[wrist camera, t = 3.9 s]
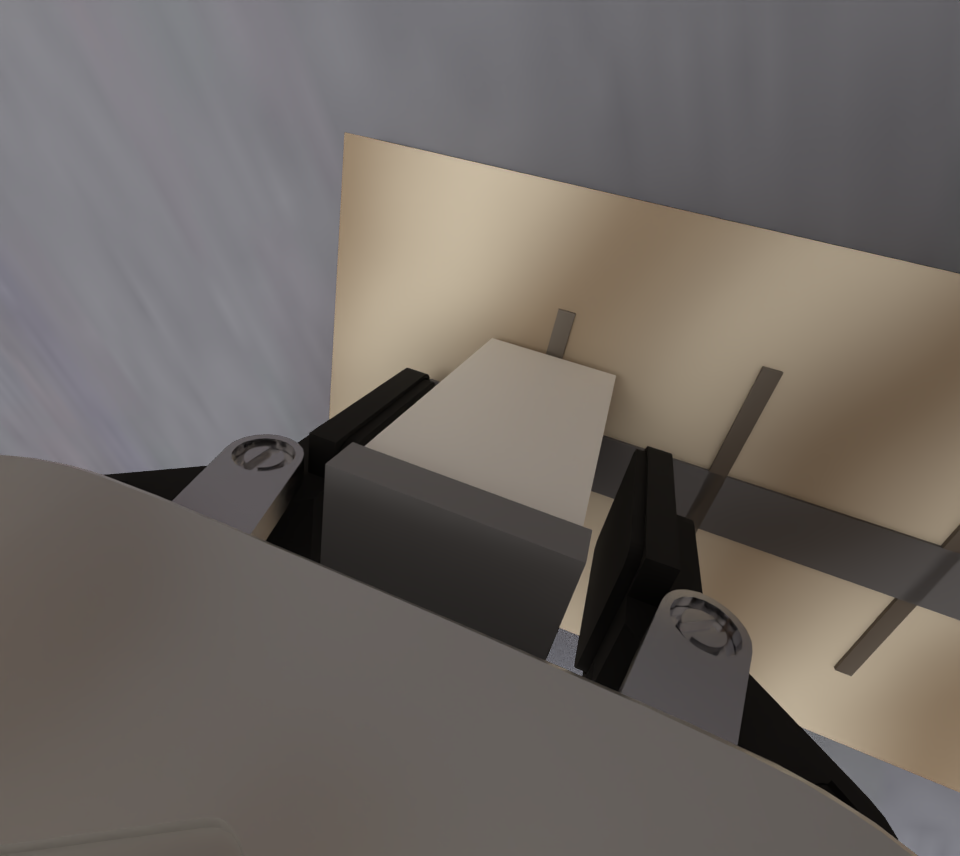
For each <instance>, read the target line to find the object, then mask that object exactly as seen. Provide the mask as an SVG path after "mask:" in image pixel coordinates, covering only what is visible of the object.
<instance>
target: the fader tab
mask: <svg viewBox="0 0 960 856" xmlns="http://www.w3.org/2000/svg"><path fill="white" fill-rule="evenodd" d="M615 379H616V375H613V374H610V373H606V372H603V371H600V370H597V369H593V368H590V367H587V366H583V365H580V364H577V363H573V362H570V361H567V360H563V359H560V358H557V357H553V356H550V355H547V354H544V353H540V352H537V351H534V350H530V349H527V348H524V347H520V346H517V345H514V344H510V343H507V342H504V341H501V340H497V339H494V338H492V339H490V340H489V341H488V342H487V343H486V344H485V345H483V346H482V347H481V348H480V349H479V350H477V351H476V352H475V353H474V354H473V355H472V356H470V357H469V358H468V359H467V360H466V361H464V362H463V363H462V364H461V365H460V366H459V367H457V368H456V369H455V370H454V371H453V372H451V373H450V374H449V375H448V376H447V377H446V378H444V379H443V380H442V381H441V382H440V383H438V384H437V385H436V386H435V387H434V388H433V389H431V390H430V391H429V392H428V393H427V394H426V395H424V396H423V397H422V398H421V399H420V400H418V401H417V402H416V403H415V404H414V405H413V406H411V407H410V408H409V409H408V410H407V411H405V412H404V413H403V414H402V415H401V416H400V417H398V418H397V419H396V420H395V421H394V422H392V423H391V424H390V425H389V426H388V427H387V428H385V429H384V430H383V431H382V432H381V433H379V434H378V435H377V436H376V437H375V438H374V439H372V440H371V441H370V442H369V443H368V444H367V445H365V446H362V445H359V444H357V443H354V442H352V443H351V444H350V445H348V446H347V447H346V448H345V449H343V450H342V451H341V452H340V453H338V454H337V455H336V456H335V457H333V458H332V459H331V460H330V461H328V462H327V463H326V464H325V483H324V502H323V521H322V540H321V559H320V564H322V565H324V566H326V567H329V568H331V569H333V570H336V571H338V572H341V573H343V574H345V575H348V576H350V577H352V578H355V579H357V580H359V581H362V582H364V583H366V584H369V585H371V586H373V587H376V588H378V589H380V590H383V591H385V592H388V593H390V594H392V595H395V596H397V597H399V598H402V599H404V600H406V601H409V602H411V603H413V604H416V605H418V606H420V607H423V608H425V609H427V610H430V611H432V612H434V613H437V614H439V615H441V616H444V617H446V618H448V619H451V620H453V621H455V622H458V623H460V624H462V625H465V626H467V627H469V628H472V629H474V630H476V631H479V632H481V633H483V634H486V635H488V636H490V637H493V638H495V639H497V640H499V641H502V642H504V643H506V644H509V645H511V646H513V647H516V648H518V649H520V650H522V651H525V652H527V653H529V654H532V655H534V656H536V657H539V658H541V659H543V660H546V658H547V656H548V653H549V651H550V649H551V646H552V644H553V641H554V639H555V637H556V634H557V632H558V629H559V627H560V625H561V622H562V620H563V617H564V615H565V613H566V610H567V608H568V605H569V603H570V601H571V598H572V596H573V593H574V591H575V589H576V586H577V584H578V581H579V579H580V577H581V574H582V572H583V569H584V567H585V565H586V561H587V556H588V551H589V545H590V540H591V535H592V530H591V529H588V528H585V527H583V525H584V520H585V516H586V511H587V507H588V502H589V497H590V493H591V488H592V484H593V479H594V475H595V470H596V465H597V461H598V456H599V452H600V447H601V443H602V438H603V434H604V429H605V424H606V420H607V415H608V411H609V406H610V402H611V397H612V392H613V388H614V383H615Z"/></svg>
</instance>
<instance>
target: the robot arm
mask: <svg viewBox="0 0 960 856" xmlns="http://www.w3.org/2000/svg"><path fill="white" fill-rule="evenodd" d="M434 387H435V383H434V382H432V381H430V377H429V375H428V374H426V373H423V372H420V371H417V370H414V369H411V368H405V369H404V370H402V371H401V372H399V373H398V374H396V375H395V376H393V377H392V378H390V379H389V380H387V381H386V382H384V383H383V384H381V385H380V386H378V387H377V388H375V389H374V390H373V391H371V392H370V393H368V394H367V395H365V396H364V397H362V398H361V399H359V400H358V401H356V402H355V403H353V404H352V405H350V406H349V407H347V408H346V409H344V410H343V411H341V412H340V413H338V414H337V415H335V416H334V417H332V418H331V419H329V420H328V421H327V422H325V423H324V424H322V425H321V426H319V427H318V428H316V429H315V430H313V431H312V432H310V433H309V435H308V436H307V437H306V438H304V439H303V440H301V441H300V442H298V443H297V442H295V441H293V440H292V439H290V438H286V437H283V436H279V435H270V434H263V435H253V436H248V437H244V438H241V439H239V440H236V441H234V442H232V443H231V444H230V445H228V446H227V447H226V448H225V449H224V450H223V451H222V452H221V453H220V454H219V455H218V456H217V457H216V458H215V459H214V460H213V461H212V462H211V463H210V464H209V465H208V466H200V467H189V468H177V469H166V470H154V471H143V472H132V473H120V474H110V475H102V474H99V473H95V472H92V471H88V470H85V469H81V468H78V467H75V466H71V465H67V464H62V463H57V462H52V461H47V460H42V459H37V458H28V457H18V456H7V455H0V856H918V855H917V854H915V853H914V852H913V851H911V850H910V849H909V848H907V847H906V846H905V845H903V844H902V843H901V842H900V841H898V838H897V837H896V835H895V833H894V832H893V830H892V828H891V827H890V825H889V823H888V822H887V820H886V819H885V817H884V816H883V815H882V814H881V812H880V811H879V810H878V809H877V807H876V806H875V805H874V804H873V803H872V801H871V800H870V799H869V798H868V797H867V796H866V795H865V794H864V793H863V792H862V791H861V790H860V788H859V787H858V786H857V785H856V784H855V783H854V782H853V781H852V780H851V779H850V778H849V777H848V776H847V775H846V774H845V773H844V772H843V771H842V770H841V769H840V768H839V767H838V766H837V764H836V763H835V762H834V761H833V760H832V759H831V758H830V757H829V756H828V755H827V754H826V753H825V752H824V751H823V750H822V749H821V748H820V747H819V746H818V745H817V744H816V743H815V741H814V740H813V739H812V738H811V737H810V736H809V735H808V734H807V733H806V732H805V731H804V730H803V729H802V728H801V727H800V726H799V725H798V724H797V723H796V722H795V721H794V720H793V718H792V717H791V716H790V715H789V714H788V713H787V712H786V711H785V710H784V709H783V708H782V707H781V706H780V705H779V704H778V703H777V702H776V701H775V700H774V699H773V698H772V697H771V695H770V694H769V693H768V692H767V691H766V690H765V689H764V688H763V687H762V686H761V685H760V684H759V683H758V682H757V681H756V680H755V679H754V678H753V677H752V676H751V675H750V674H749V671H750V665H751V659H752V653H753V650H752V641H751V638H750V636H749V634H748V632H747V629H746V628H745V627H744V625H743V624H742V623H741V621H740V620H739V619H738V618H737V617H736V616H735V615H734V614H733V613H732V612H731V611H730V610H729V609H728V608H727V607H725V606H724V605H722V604H721V603H719V602H718V601H716V600H715V599H713V598H711V597H709V596H706V595H704V594H703V591H702V583H701V575H700V567H699V559H698V550H697V542H696V534H695V526H694V522H693V520H691V519H689V518H686V517H683V516H680V515H678V514H677V512H676V498H675V484H674V470H673V456H672V454H671V453H668V452H665V451H662V450H659V449H656V448H653V447H650V446H647V447H646V448H645V450H644V451H642V450H639V449H636V450H635V451H634V453H633V456H632V458H631V460H630V463H629V465H628V467H627V470H626V472H625V475H624V477H623V479H622V482H621V484H620V487H619V489H618V491H617V494H616V496H615V499H614V501H613V503H612V506H611V508H610V510H609V513H608V515H607V518H606V520H605V522H604V525H603V527H602V530H601V532H600V534H599V537H598V539H597V542H596V545H595V549H594V554H593V559H592V565H591V571H590V577H589V583H588V588H587V594H586V600H585V606H584V611H583V617H582V623H581V629H580V635H579V640H578V646H577V652H576V658H575V668H577V669H580V670H582V671H583V676H580V675H578V674H576V673H573V672H571V671H569V670H566V669H564V668H562V667H559V666H557V665H555V664H552V663H550V662H548V661H546V660H543V659H541V658H539V657H536V656H534V655H532V654H529V653H527V652H525V651H522V650H520V649H518V648H516V647H513V646H511V645H509V644H506V643H504V642H502V641H499V640H497V639H495V638H493V637H490V636H488V635H486V634H483V633H481V632H479V631H476V630H474V629H472V628H469V627H467V626H465V625H462V624H460V623H458V622H455V621H453V620H451V619H448V618H446V617H444V616H441V615H439V614H437V613H434V612H432V611H430V610H427V609H425V608H423V607H420V606H418V605H416V604H413V603H411V602H409V601H406V600H404V599H402V598H399V597H397V596H395V595H392V594H390V593H388V592H385V591H383V590H380V589H378V588H376V587H373V586H371V585H369V584H366V583H364V582H362V581H359V580H357V579H355V578H352V577H350V576H348V575H345V574H343V573H341V572H338V571H336V570H333V569H331V568H329V567H326V566H324V565H322V564H320V559H321V540H322V521H323V502H324V483H325V464H326V463H327V462H328V461H330V460H331V459H332V458H333V457H335V456H336V455H337V454H338V453H340V452H341V451H342V450H343V449H345V448H346V447H347V446H348V445H350V444H351V443H352V442H354V443H357V444H359V445H362V446H365V445H367V444H368V443H369V442H370V441H371V440H372V439H374V438H375V437H376V436H377V435H378V434H379V433H381V432H382V431H383V430H384V429H385V428H387V427H388V426H389V425H390V424H391V423H392V422H394V421H395V420H396V419H397V418H398V417H400V416H401V415H402V414H403V413H404V412H405V411H407V410H408V409H409V408H410V407H411V406H413V405H414V404H415V403H416V402H417V401H418V400H420V399H421V398H422V397H423V396H424V395H426V394H427V393H428V392H429V391H430V390H431V389H433V388H434Z"/></svg>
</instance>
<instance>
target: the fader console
mask: <svg viewBox="0 0 960 856" xmlns="http://www.w3.org/2000/svg"><path fill="white" fill-rule="evenodd" d="M492 338H494V339H497V340H501V341H504V342H507V343H510V344H514V345H517V346H520V347H524V348H527V349H530V350H534V351H537V352H540V353H544V354H547V355H550V356H553V357H557V358H560V359H563V360H567V361H570V362H573V363H577V364H580V365H583V366H587V367H590V368H593V369H597V370H600V371H603V372H606V373H610V374H613V375H616V379H615V383H614V388H613V392H612V397H611V402H610V406H609V411H608V415H607V420H606V424H605V429H604V434H603V438H602V443H601V447H600V452H599V456H598V461H597V465H596V470H595V475H594V479H593V484H592V488H591V493H590V497H589V502H588V507H587V511H586V516H585V520H584V525H583V527H585V528H588V529H591V530H592V535H591V540H590V545H589V551H588V556H587V561H586V565H585V567H584V569H583V572H582V574H581V577H580V579H579V581H578V584H577V586H576V589H575V591H574V593H573V596H572V598H571V601H570V603H569V605H568V608H567V610H566V613H565V615H564V617H563V620H562V622H561V625H560V627H559V628H562V629H564V630H566V631H569V632H571V633H574V634H576V635H580V629H581V623H582V617H583V611H584V606H585V600H586V594H587V588H588V583H589V577H590V571H591V565H592V559H593V554H594V549H595V545H596V542H597V539H598V537H599V534H600V532H601V530H602V527H603V525H604V522H605V520H606V518H607V515H608V513H609V510H610V508H611V506H612V503H613V501H614V499H615V496H616V494H617V491H618V489H619V487H620V484H621V482H622V479H623V477H624V475H625V472H626V470H627V467H628V465H629V463H630V460H631V458H632V456H633V453H634V451H635V450H636V449H639V450H642V451H644V450H645V448H646V447H647V446H650V447H653V448H656V449H659V450H662V451H665V452H668V453H671V454H672V456H673V470H674V484H675V498H676V512H677V514H678V515H680V516H683V517H686V518H689V519H691V520H693V522H694V526H695V534H696V542H697V550H698V559H699V567H700V575H701V583H702V591H703V594H704V595H706V596H709V597H711V598H713V599H715V600H716V601H718V602H719V603H721V604H722V605H724V606H725V607H727V608H728V609H729V610H730V611H731V612H732V613H733V614H734V615H735V616H736V617H737V618H738V619H739V620H740V621H741V623H742V624H743V625H744V627H745V628H746V629H747V632H748V634H749V636H750V638H751V641H752V650H753V653H752V659H751V665H750V671H749V674H750V675H751V676H752V677H753V678H754V679H755V680H756V681H757V682H758V683H759V684H760V685H761V686H762V687H763V688H764V689H765V690H766V691H767V692H768V693H769V694H770V695H771V697H772V698H773V699H774V700H775V701H776V702H777V703H778V704H779V705H780V706H781V707H782V708H783V709H784V710H785V711H786V712H787V713H788V714H789V715H790V716H791V717H792V718H793V720H794V721H795V722H796V723H797V724H798V725H799V726H800V727H802V728H805V729H807V730H810V731H812V732H814V733H817V734H819V735H822V736H824V737H827V738H829V739H831V740H834V741H836V742H839V743H841V744H844V745H846V746H848V747H851V748H853V749H856V750H858V751H861V752H863V753H865V754H868V755H870V756H873V757H875V758H878V759H880V760H882V761H885V762H887V763H890V764H892V765H895V766H897V767H899V768H902V769H904V770H907V771H909V772H912V773H914V774H916V775H919V776H921V777H924V778H926V779H929V780H931V781H933V782H936V783H938V784H941V785H943V786H946V787H948V788H950V789H953V790H955V791H958V792H960V274H959V273H954V272H950V271H945V270H941V269H937V268H932V267H928V266H924V265H919V264H915V263H911V262H906V261H902V260H898V259H893V258H889V257H885V256H880V255H876V254H872V253H867V252H863V251H859V250H854V249H850V248H846V247H841V246H837V245H833V244H828V243H824V242H820V241H815V240H811V239H807V238H802V237H798V236H794V235H789V234H785V233H781V232H776V231H772V230H768V229H763V228H759V227H755V226H750V225H746V224H742V223H737V222H733V221H728V220H724V219H720V218H715V217H711V216H707V215H702V214H698V213H694V212H689V211H685V210H681V209H676V208H672V207H668V206H663V205H659V204H655V203H650V202H646V201H642V200H637V199H633V198H629V197H624V196H620V195H616V194H611V193H607V192H603V191H598V190H594V189H590V188H585V187H581V186H577V185H572V184H568V183H564V182H559V181H555V180H551V179H546V178H542V177H538V176H533V175H529V174H525V173H520V172H516V171H511V170H507V169H503V168H498V167H494V166H490V165H485V164H481V163H477V162H472V161H468V160H464V159H459V158H455V157H451V156H446V155H442V154H438V153H433V152H429V151H425V150H420V149H416V148H412V147H407V146H403V145H399V144H394V143H390V142H386V141H381V140H377V139H372V138H368V137H363V136H359V135H354V134H350V133H345V136H344V154H343V173H342V191H341V210H340V228H339V247H338V265H337V284H336V302H335V321H334V339H333V358H332V376H331V395H330V414H329V419H331V418H332V417H334V416H335V415H337V414H338V413H340V412H341V411H343V410H344V409H346V408H347V407H349V406H350V405H352V404H353V403H355V402H356V401H358V400H359V399H361V398H362V397H364V396H365V395H367V394H368V393H370V392H371V391H373V390H374V389H375V388H377V387H378V386H380V385H381V384H383V383H384V382H386V381H387V380H389V379H390V378H392V377H393V376H395V375H396V374H398V373H399V372H401V371H402V370H404V369H405V368H411V369H414V370H417V371H420V372H423V373H426V374H428V375H429V377H430V381H432V382H434V383H435V386H436V385H437V384H438V383H440V382H441V381H442V380H443V379H444V378H446V377H447V376H448V375H449V374H450V373H451V372H453V371H454V370H455V369H456V368H457V367H459V366H460V365H461V364H462V363H463V362H464V361H466V360H467V359H468V358H469V357H470V356H472V355H473V354H474V353H475V352H476V351H477V350H479V349H480V348H481V347H482V346H483V345H485V344H486V343H487V342H488V341H489V340H490V339H492Z"/></svg>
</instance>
